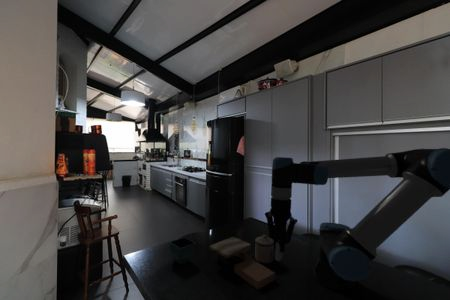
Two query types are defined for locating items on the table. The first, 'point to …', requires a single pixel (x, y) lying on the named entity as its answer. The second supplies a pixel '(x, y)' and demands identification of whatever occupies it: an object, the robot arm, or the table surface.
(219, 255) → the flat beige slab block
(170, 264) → the table surface
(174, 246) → the flower pot
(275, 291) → the table surface
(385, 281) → the table surface
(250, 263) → the tile
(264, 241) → the teacup with lid
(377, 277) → the table surface
